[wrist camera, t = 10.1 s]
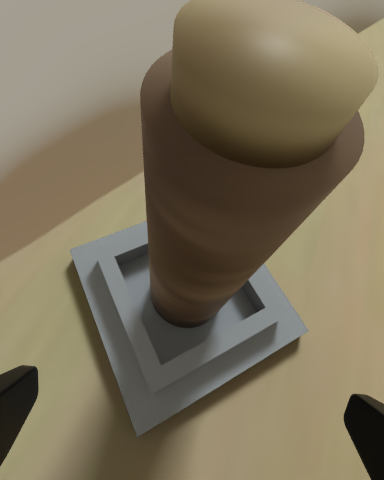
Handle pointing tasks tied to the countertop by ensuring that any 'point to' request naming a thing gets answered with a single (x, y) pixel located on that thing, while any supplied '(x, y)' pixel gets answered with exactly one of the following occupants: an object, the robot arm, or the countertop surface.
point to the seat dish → (175, 329)
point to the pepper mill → (243, 141)
